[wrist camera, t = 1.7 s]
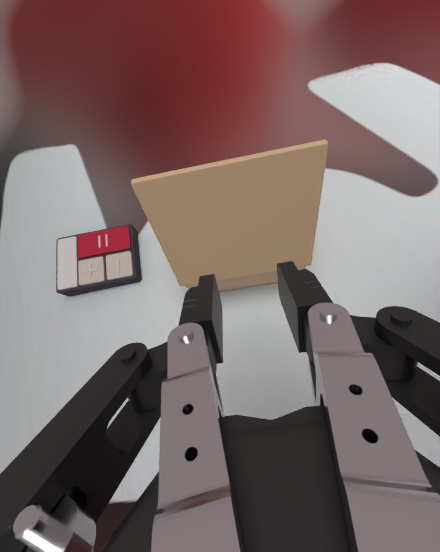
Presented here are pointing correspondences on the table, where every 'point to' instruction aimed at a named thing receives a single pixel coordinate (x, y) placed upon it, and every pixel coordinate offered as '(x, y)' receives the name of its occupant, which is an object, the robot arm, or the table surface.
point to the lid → (237, 212)
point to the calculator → (98, 260)
